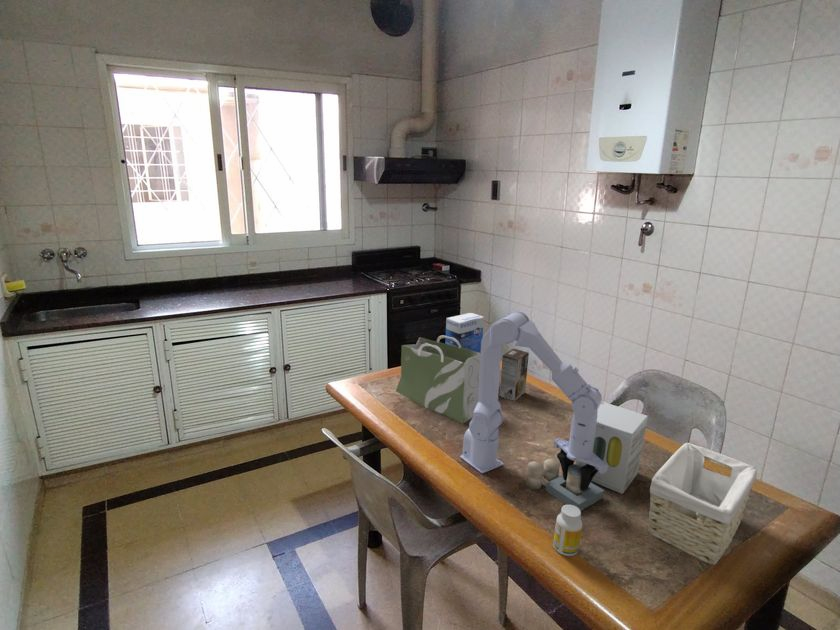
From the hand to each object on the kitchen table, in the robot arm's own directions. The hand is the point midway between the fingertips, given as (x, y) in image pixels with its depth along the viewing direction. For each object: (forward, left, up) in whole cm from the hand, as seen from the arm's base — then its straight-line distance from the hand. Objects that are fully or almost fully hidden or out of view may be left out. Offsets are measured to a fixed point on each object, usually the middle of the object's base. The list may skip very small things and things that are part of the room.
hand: (575, 483), depth 124 cm
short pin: (-8, +1, -3) cm, 9 cm away
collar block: (0, 0, -3) cm, 3 cm away
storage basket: (+23, +14, -3) cm, 27 cm away
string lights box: (-69, +21, -3) cm, 72 cm away
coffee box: (-50, +29, -3) cm, 58 cm away
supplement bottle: (+11, -17, -3) cm, 20 cm away
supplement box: (-1, +15, -3) cm, 15 cm away
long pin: (0, 0, -3) cm, 3 cm away
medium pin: (-8, -5, -3) cm, 11 cm away
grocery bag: (-60, +3, -3) cm, 60 cm away
